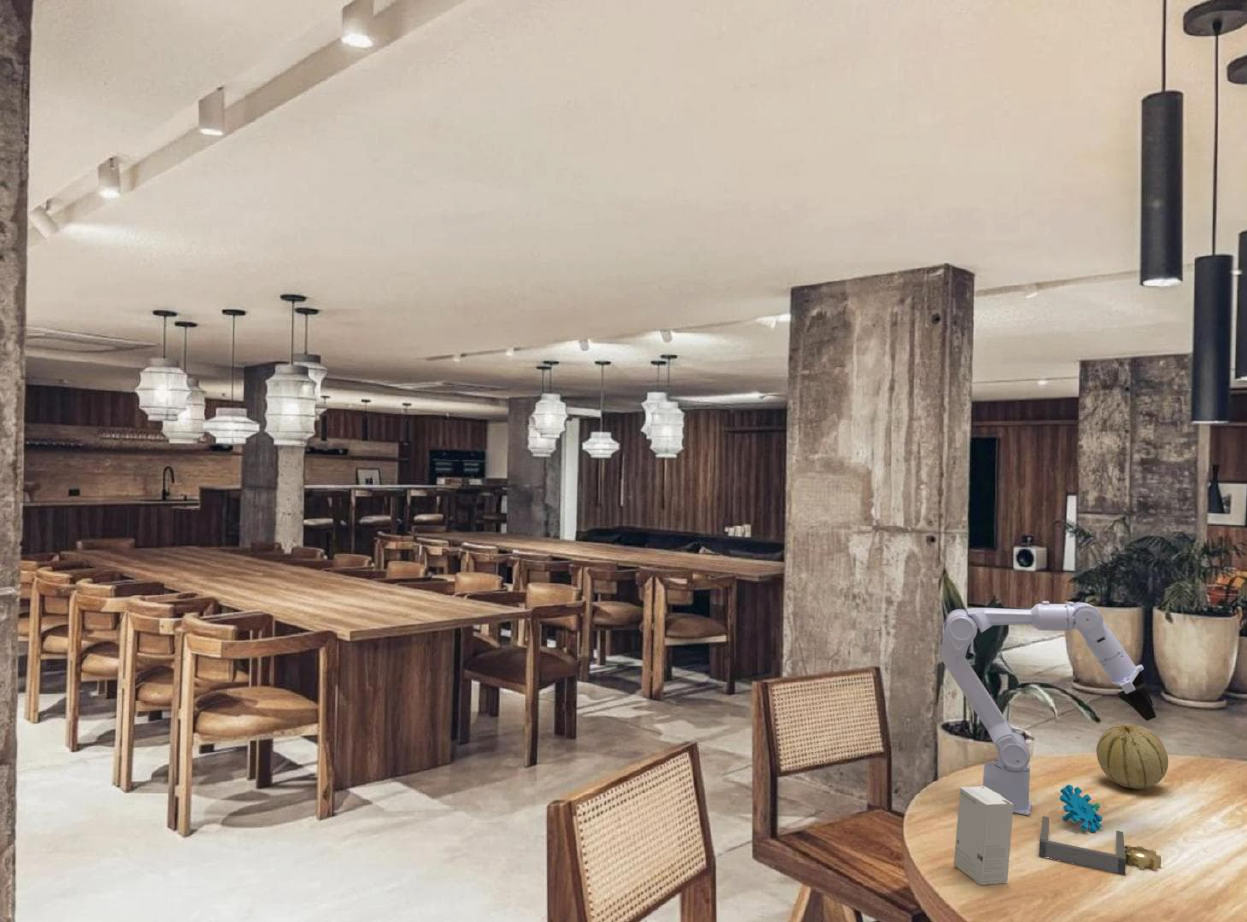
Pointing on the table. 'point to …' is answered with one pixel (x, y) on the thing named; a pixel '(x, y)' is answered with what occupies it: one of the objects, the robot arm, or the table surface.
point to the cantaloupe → (1132, 756)
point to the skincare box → (983, 835)
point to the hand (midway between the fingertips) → (1149, 712)
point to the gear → (1080, 809)
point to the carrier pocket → (1098, 854)
